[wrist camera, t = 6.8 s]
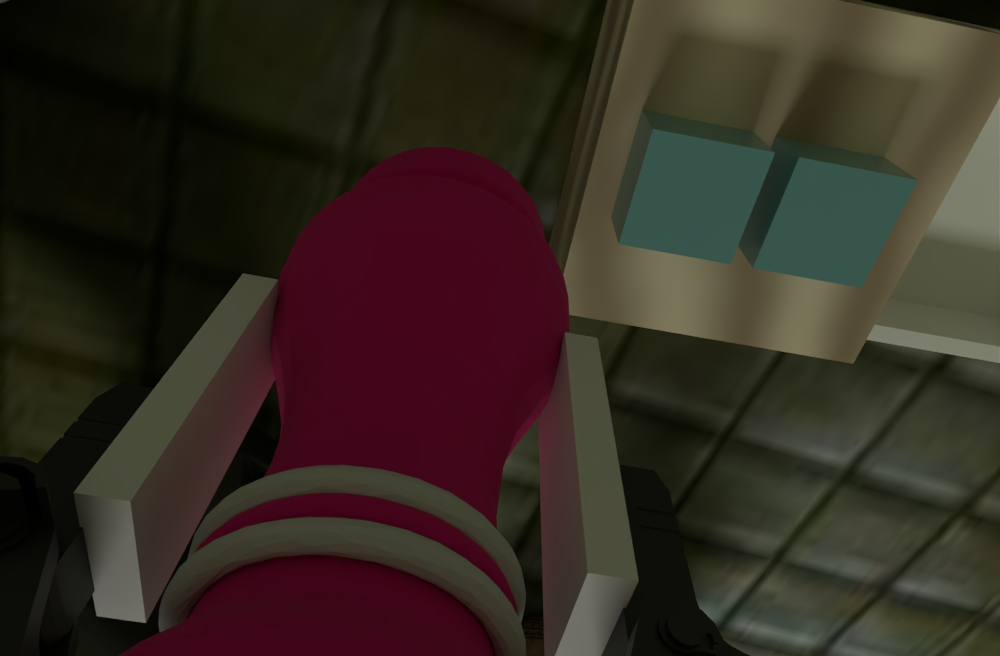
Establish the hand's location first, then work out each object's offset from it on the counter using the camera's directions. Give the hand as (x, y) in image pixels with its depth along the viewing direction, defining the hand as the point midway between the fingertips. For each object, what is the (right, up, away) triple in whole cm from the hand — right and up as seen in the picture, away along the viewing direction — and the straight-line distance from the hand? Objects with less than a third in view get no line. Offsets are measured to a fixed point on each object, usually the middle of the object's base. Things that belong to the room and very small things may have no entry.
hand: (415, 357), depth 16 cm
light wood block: (+14, +11, +22) cm, 29 cm away
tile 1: (+16, +6, +15) cm, 23 cm away
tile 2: (+10, +7, +15) cm, 19 cm away
